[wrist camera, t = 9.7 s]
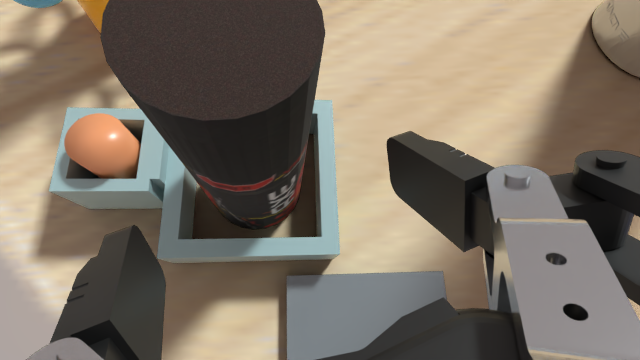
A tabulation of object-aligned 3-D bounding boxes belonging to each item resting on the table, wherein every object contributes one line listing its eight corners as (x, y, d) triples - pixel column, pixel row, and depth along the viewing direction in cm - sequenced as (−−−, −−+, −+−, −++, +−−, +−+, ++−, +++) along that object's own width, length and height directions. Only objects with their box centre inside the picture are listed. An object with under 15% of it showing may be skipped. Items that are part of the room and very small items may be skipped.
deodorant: (245, 131, 25) (195, -86, 11) (316, 174, 24) (362, 6, 10) (193, 199, 23) (48, 43, 9) (269, 246, 22) (244, 164, 8)
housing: (326, 121, 26) (334, 92, 22) (332, 259, 23) (342, 252, 19) (105, 117, 24) (72, 84, 20) (79, 265, 21) (34, 259, 17)
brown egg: (157, 147, 23) (129, 113, 19) (152, 190, 22) (121, 165, 18) (109, 146, 23) (70, 112, 18) (102, 190, 22) (58, 165, 17)
